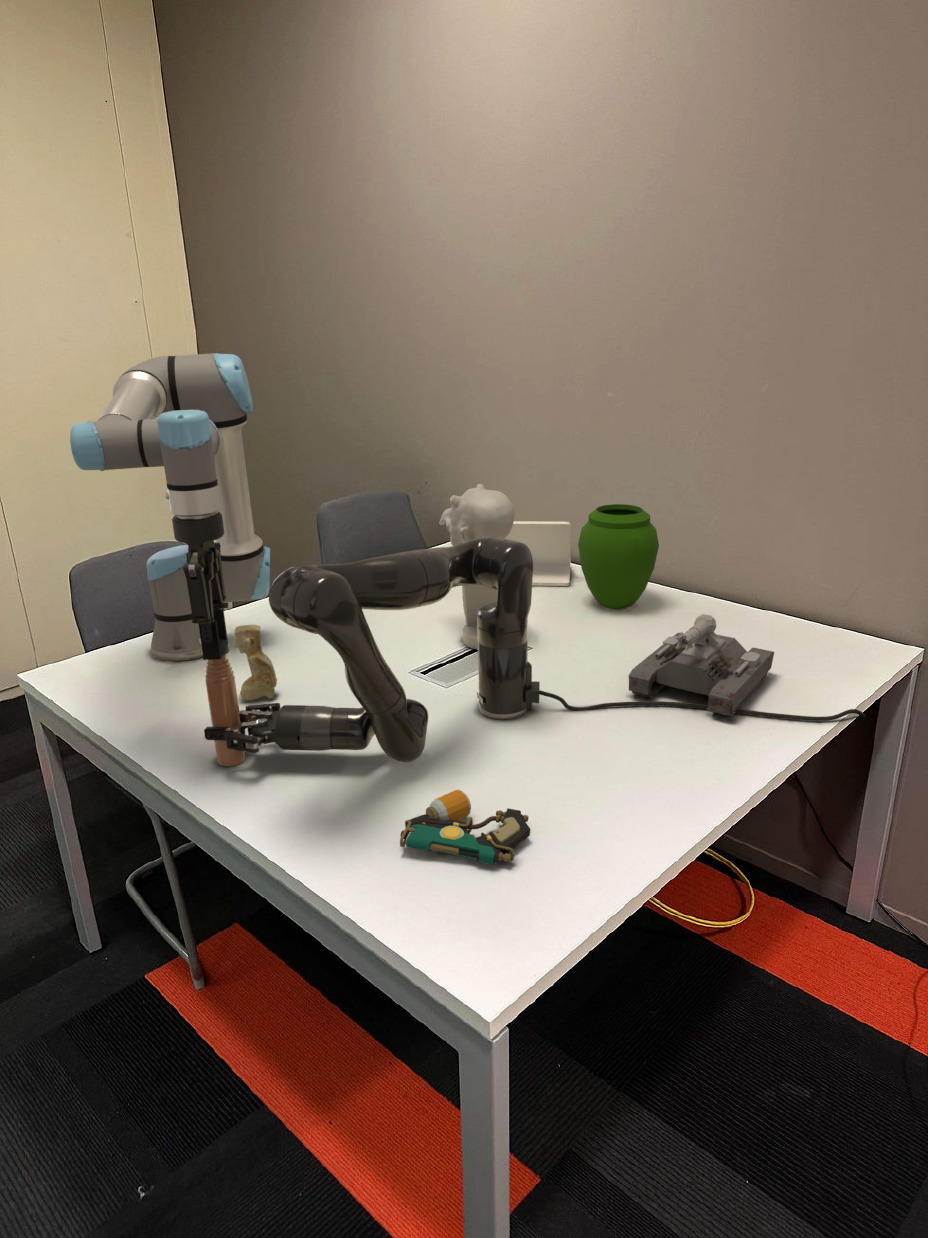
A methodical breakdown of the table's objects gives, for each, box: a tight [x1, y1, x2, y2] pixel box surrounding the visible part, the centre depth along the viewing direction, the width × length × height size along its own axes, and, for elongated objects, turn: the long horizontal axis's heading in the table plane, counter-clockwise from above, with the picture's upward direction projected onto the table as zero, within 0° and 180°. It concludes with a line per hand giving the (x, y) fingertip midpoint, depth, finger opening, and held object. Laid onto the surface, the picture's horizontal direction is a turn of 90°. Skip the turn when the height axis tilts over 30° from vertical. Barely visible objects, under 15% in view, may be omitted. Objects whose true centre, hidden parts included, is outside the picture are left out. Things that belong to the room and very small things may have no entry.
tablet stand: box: [505, 520, 572, 587], centre depth 236 cm, size 18×25×17 cm
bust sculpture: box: [438, 483, 515, 650], centre depth 192 cm, size 16×24×35 cm, turn 28°
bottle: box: [204, 654, 246, 767], centre depth 143 cm, size 5×5×21 cm
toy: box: [628, 613, 775, 717], centre depth 166 cm, size 25×20×15 cm
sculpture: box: [233, 624, 278, 701], centre depth 167 cm, size 6×7×15 cm
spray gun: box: [399, 789, 531, 866], centre depth 122 cm, size 4×17×15 cm
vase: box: [577, 503, 660, 610], centre depth 210 cm, size 20×20×24 cm
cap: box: [219, 639, 230, 656], centre depth 140 cm, size 4×4×2 cm
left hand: (216, 652), depth 140 cm, fingers closed on cap, 4 cm apart
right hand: (211, 725), depth 145 cm, fingers closed on bottle, 4 cm apart
